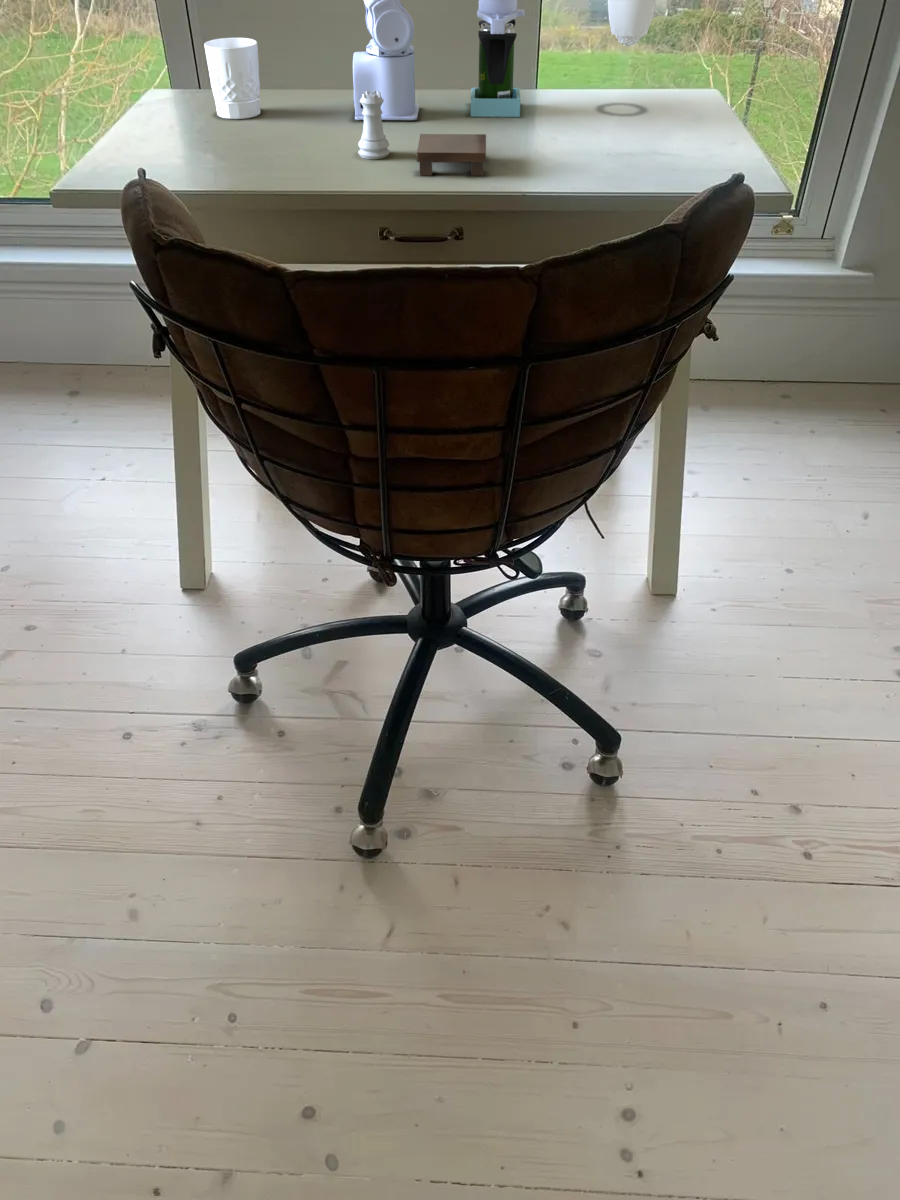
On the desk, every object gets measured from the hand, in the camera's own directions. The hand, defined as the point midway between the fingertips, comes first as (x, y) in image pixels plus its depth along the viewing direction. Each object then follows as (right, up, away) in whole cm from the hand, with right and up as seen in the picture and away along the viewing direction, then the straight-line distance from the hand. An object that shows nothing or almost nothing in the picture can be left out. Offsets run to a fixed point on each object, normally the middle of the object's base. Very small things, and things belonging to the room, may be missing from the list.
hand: (496, 77), depth 163 cm
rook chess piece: (-18, -19, -16) cm, 31 cm away
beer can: (0, -4, +3) cm, 5 cm away
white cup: (-40, -5, +2) cm, 40 cm away
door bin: (0, -4, +3) cm, 5 cm away
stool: (-7, -22, -20) cm, 31 cm away
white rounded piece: (+20, -4, +3) cm, 21 cm away
